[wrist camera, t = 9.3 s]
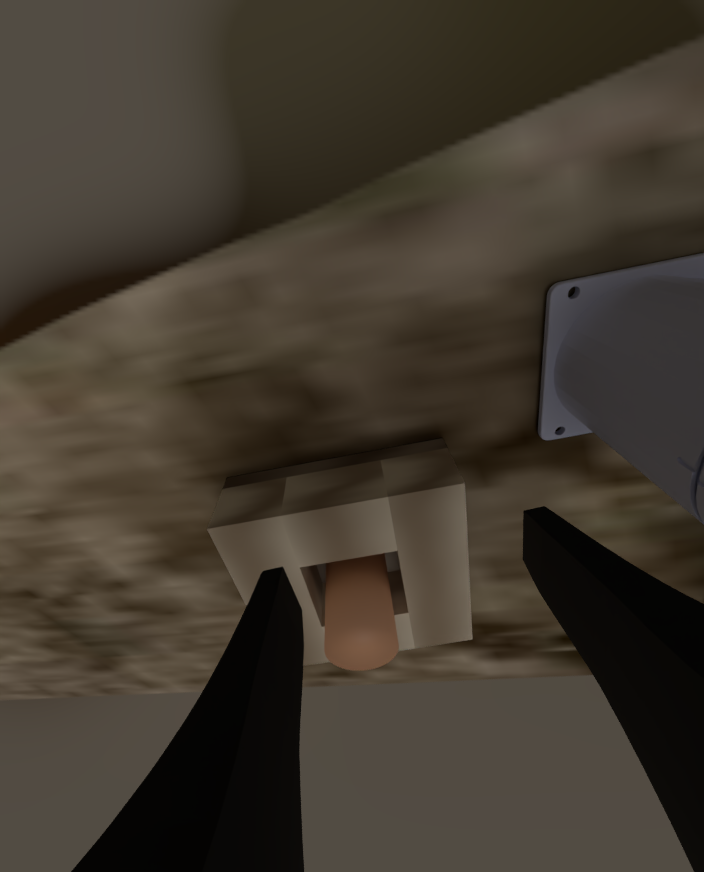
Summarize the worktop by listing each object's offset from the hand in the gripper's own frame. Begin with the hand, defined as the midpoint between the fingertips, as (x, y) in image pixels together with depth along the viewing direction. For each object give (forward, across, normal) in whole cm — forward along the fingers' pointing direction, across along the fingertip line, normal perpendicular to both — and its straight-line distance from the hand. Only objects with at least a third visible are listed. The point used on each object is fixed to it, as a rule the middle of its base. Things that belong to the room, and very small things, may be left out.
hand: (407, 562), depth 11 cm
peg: (+9, +2, +8) cm, 12 cm away
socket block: (+10, +2, +8) cm, 13 cm away
